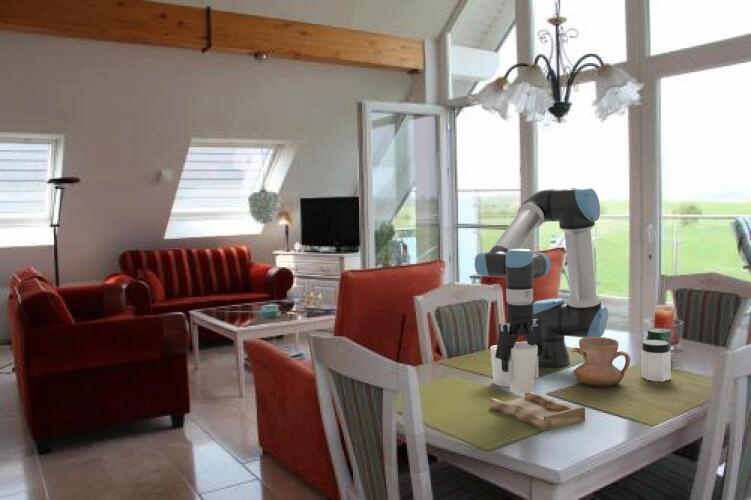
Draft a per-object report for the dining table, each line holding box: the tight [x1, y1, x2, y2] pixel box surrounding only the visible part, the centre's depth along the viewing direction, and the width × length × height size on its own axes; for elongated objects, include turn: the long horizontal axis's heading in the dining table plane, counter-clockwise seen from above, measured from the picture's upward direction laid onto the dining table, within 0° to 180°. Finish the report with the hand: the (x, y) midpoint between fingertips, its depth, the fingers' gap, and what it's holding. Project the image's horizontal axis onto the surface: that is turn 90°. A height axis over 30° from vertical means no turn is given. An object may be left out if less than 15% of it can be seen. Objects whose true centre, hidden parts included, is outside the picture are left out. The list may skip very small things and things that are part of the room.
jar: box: [640, 339, 672, 383], centre depth 212 cm, size 9×8×12 cm
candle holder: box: [489, 344, 510, 388], centre depth 213 cm, size 10×10×12 cm
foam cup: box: [509, 341, 538, 394], centre depth 186 cm, size 10×9×13 cm
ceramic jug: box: [571, 336, 631, 388], centre depth 208 cm, size 18×14×14 cm
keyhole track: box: [490, 391, 586, 432], centre depth 182 cm, size 23×14×4 cm, turn 28°
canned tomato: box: [646, 327, 672, 352], centre depth 235 cm, size 8×8×11 cm
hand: (521, 379), depth 187 cm, fingers closed on foam cup, 9 cm apart
